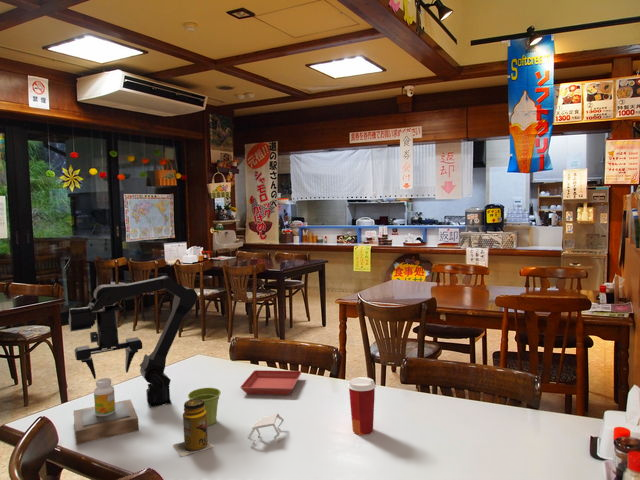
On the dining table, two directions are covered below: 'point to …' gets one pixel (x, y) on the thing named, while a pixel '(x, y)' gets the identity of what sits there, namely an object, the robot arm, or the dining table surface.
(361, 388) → the paper cup
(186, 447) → the condiment
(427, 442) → the dining table surface
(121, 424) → the framed mirror
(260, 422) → the miniature table
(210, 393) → the plant pot
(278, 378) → the plant saucer
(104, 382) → the supplement bottle
